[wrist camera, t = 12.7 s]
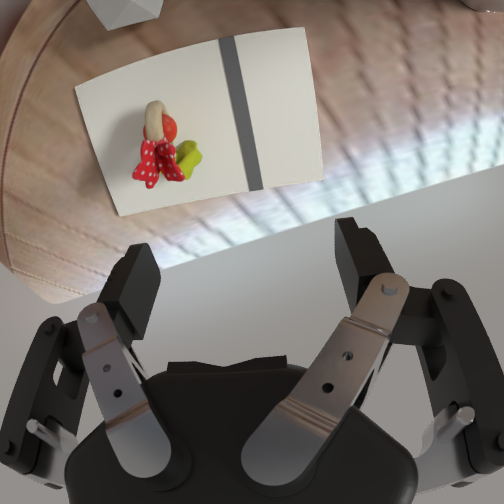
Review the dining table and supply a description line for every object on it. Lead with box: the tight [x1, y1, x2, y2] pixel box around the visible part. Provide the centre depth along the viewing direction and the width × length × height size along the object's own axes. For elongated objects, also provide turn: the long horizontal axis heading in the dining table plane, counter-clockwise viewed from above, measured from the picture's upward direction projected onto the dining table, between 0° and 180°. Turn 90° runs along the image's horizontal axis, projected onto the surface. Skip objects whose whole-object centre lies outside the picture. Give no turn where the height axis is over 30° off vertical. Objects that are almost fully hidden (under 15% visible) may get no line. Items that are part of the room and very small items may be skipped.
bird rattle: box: [132, 100, 202, 189], centre depth 28 cm, size 6×11×9 cm
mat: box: [75, 27, 324, 217], centre depth 31 cm, size 18×26×1 cm
